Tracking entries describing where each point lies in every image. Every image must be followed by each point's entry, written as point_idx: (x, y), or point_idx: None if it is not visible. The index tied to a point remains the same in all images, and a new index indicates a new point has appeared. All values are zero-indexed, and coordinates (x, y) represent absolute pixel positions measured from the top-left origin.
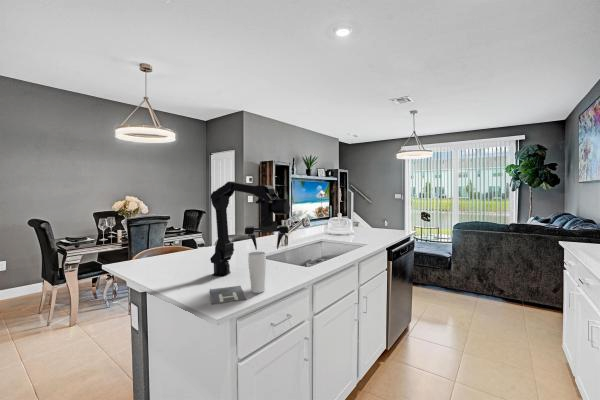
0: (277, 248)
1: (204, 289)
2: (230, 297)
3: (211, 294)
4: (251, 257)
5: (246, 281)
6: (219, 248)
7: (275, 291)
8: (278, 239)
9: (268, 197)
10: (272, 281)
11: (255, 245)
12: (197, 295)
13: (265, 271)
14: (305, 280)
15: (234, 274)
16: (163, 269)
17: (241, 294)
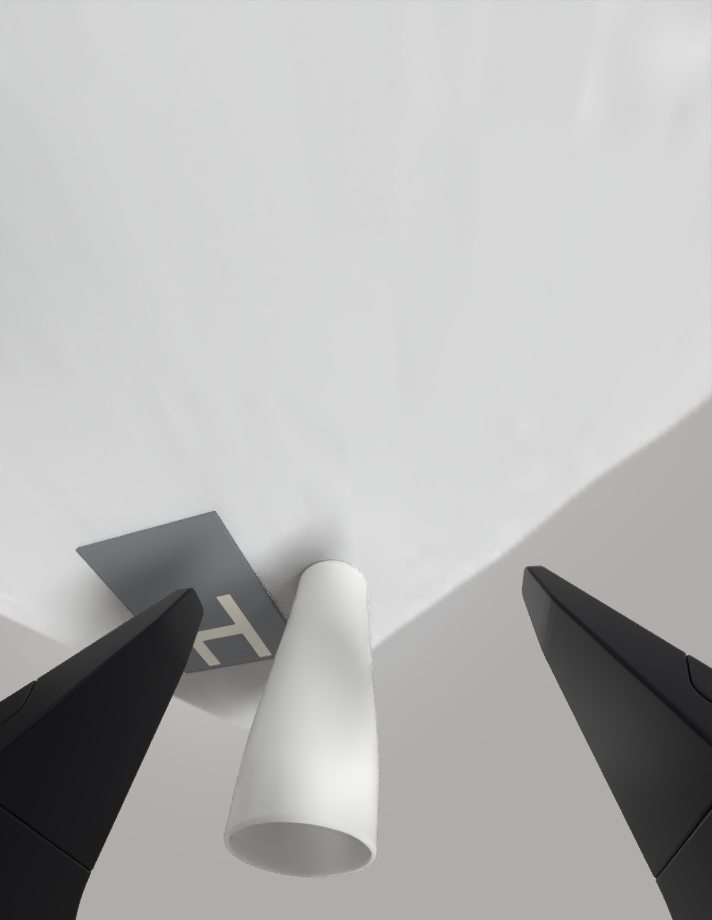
0: (532, 605)
1: (41, 535)
2: (231, 638)
3: (128, 605)
4: (271, 843)
5: (218, 426)
6: None
7: (423, 589)
8: (642, 831)
9: None
10: (403, 441)
11: (158, 691)
12: (67, 597)
13: (373, 683)
14: (646, 440)
15: (20, 208)
16: None
17: (267, 617)
